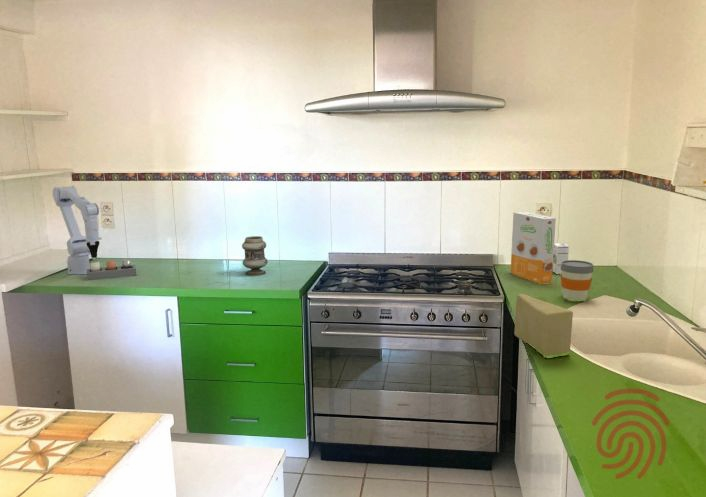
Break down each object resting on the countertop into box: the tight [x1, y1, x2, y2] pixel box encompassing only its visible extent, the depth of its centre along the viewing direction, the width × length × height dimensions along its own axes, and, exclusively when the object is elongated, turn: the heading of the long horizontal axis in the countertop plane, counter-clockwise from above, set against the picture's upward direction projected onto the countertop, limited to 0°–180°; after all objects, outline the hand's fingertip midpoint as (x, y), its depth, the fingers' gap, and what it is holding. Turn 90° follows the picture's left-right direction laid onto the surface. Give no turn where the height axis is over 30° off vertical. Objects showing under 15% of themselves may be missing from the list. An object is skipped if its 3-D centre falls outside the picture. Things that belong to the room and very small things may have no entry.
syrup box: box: [552, 242, 570, 275], centre depth 278 cm, size 6×6×14 cm
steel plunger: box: [121, 259, 132, 269], centre depth 283 cm, size 4×4×4 cm
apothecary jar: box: [241, 235, 268, 277], centre depth 283 cm, size 12×12×18 cm
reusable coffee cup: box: [560, 259, 594, 300], centre depth 237 cm, size 13×13×15 cm
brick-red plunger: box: [105, 260, 116, 270], centre depth 281 cm, size 4×4×4 cm
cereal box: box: [510, 211, 557, 285], centre depth 268 cm, size 22×6×30 cm, turn 20°
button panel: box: [85, 264, 137, 281], centre depth 281 cm, size 9×22×4 cm, turn 113°
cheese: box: [513, 293, 574, 356], centre depth 186 cm, size 22×10×15 cm, turn 19°
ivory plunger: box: [89, 261, 101, 272], centre depth 278 cm, size 4×4×4 cm
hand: (94, 257), depth 277 cm, fingers closed
